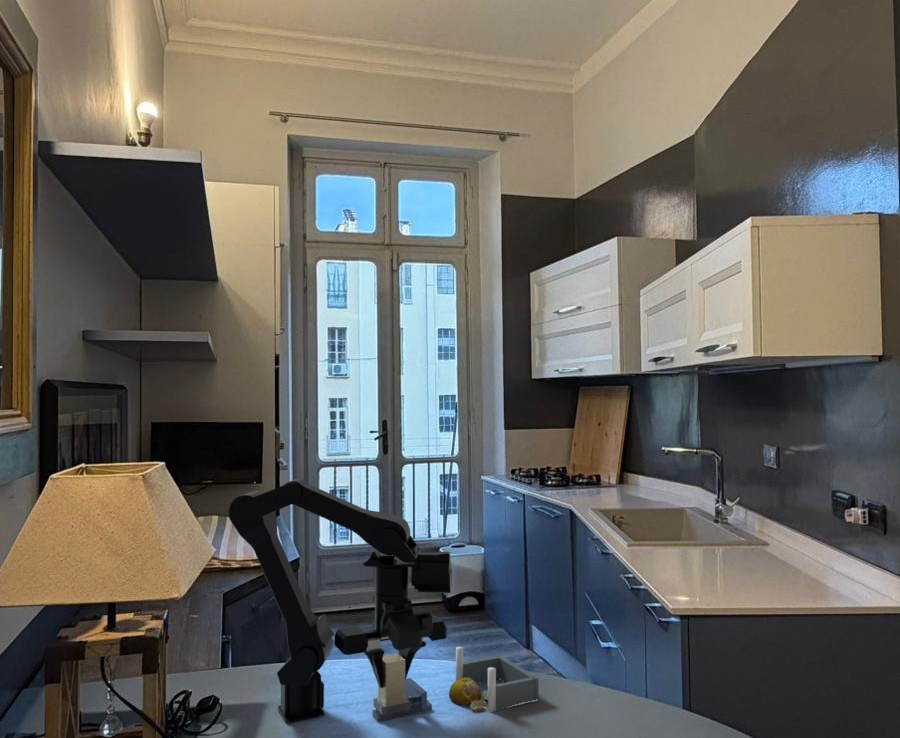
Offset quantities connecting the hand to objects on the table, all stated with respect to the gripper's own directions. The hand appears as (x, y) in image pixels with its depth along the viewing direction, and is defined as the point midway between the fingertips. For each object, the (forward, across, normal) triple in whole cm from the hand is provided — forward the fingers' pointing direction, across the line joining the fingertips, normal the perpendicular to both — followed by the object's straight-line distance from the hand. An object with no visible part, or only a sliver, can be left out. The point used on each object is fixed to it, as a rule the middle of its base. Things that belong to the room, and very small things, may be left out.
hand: (391, 685), depth 119 cm
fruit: (+6, +15, -2) cm, 16 cm away
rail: (+5, +2, 0) cm, 5 cm away
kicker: (+4, +1, 0) cm, 4 cm away
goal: (+5, +21, 0) cm, 22 cm away
